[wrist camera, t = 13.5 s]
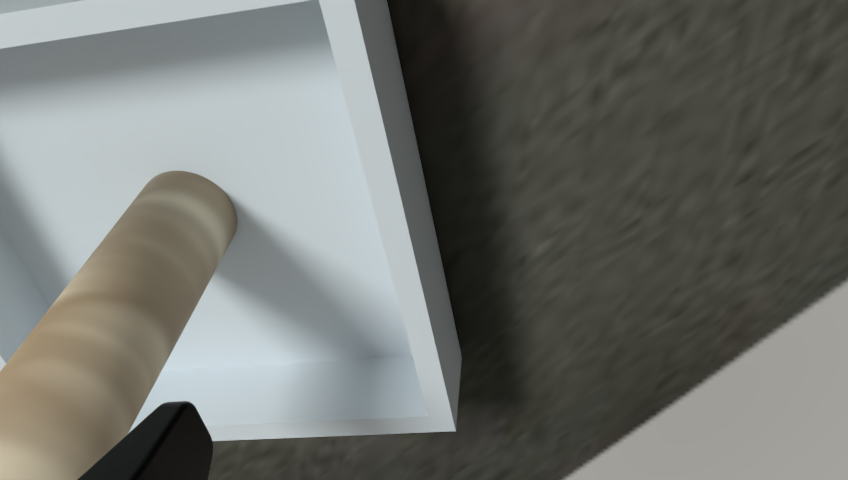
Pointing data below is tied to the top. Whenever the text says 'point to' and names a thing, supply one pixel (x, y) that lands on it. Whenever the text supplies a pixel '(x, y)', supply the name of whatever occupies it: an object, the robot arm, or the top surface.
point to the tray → (238, 201)
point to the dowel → (111, 330)
